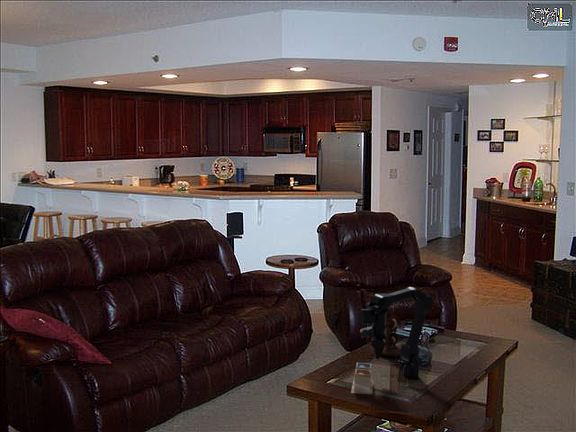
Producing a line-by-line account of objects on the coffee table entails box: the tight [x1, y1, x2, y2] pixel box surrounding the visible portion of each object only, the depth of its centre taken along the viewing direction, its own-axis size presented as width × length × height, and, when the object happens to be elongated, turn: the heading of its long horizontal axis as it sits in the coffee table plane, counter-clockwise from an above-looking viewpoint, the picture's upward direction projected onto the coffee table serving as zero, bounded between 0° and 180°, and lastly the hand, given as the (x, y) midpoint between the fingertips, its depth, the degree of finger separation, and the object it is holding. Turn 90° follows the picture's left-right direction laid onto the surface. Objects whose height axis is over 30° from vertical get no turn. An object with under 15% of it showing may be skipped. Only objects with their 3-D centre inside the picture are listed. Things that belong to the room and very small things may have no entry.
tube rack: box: [350, 362, 374, 395], centre depth 289 cm, size 18×9×9 cm, turn 171°
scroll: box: [381, 314, 401, 359], centre depth 337 cm, size 15×15×20 cm
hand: (377, 356), depth 295 cm, fingers open, 9 cm apart
